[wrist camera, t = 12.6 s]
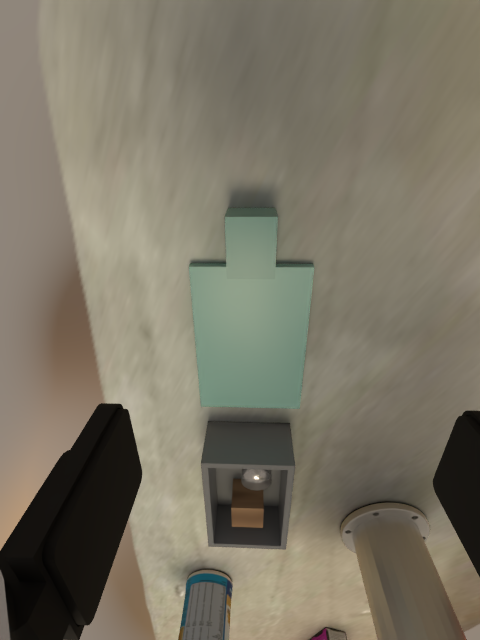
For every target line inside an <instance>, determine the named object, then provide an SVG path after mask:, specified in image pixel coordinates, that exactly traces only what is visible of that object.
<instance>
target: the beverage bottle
mask: <svg viewBox="0 0 480 640" xmlns="http://www.w3.org/2000/svg"><path fill="white" fill-rule="evenodd" d="M231 596H232V581H231V579H230V578H229V577H228V576H227V575H225V574H224V573H222V572H219V571H215V570H200V571H197V572H194V573H192V574H191V575H190V576H189V577H188V579H187V583H186V594H185V601H184V608H183V614H182V620H181V627H180V633H179V639H178V640H229V630H230V609H231Z"/></svg>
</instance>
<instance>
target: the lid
mask: <svg viewBox="0 0 480 640" xmlns="http://www.w3.org/2000/svg"><path fill="white" fill-rule="evenodd" d="M277 224H278V216H277V213H276V209H275V208H228V210H227V213H226V215H225V241H226V263H191V264H190V266H189V274H190V286H191V297H192V309H193V320H194V332H195V343H196V355H197V366H198V377H199V389H200V400H201V406H203V407H247V408H292V409H300V399H301V390H302V380H303V371H304V361H305V352H306V342H307V333H308V323H309V314H310V304H311V295H312V285H313V275H314V266H313V264H276V246H277Z"/></svg>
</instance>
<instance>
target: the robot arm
mask: <svg viewBox="0 0 480 640" xmlns="http://www.w3.org/2000/svg"><path fill="white" fill-rule="evenodd" d="M141 479H142V468H141V464H140V459H139V455H138V451H137V446H136V442H135V437H134V433H133V429H132V424H131V420H130V415H129V412H128V410H127V409H123V406H122V405H121V404H103V403H101V404H99V405H98V406H97V408H96V409H95V411H94V413H93V414H92V416H91V417H90V419H89V421H88V422H87V424H86V425H85V427H84V429H83V430H82V432H81V434H80V435H79V437H78V439H77V440H76V442H75V443H74V445H73V446H72V448H71V450H69V451H66V452H65V453H63V455H62V456H61V457H60V458H59V460H58V462H57V463H56V465H55V467H54V468H53V469H52V471H51V473H50V474H49V476H48V477H47V479H46V480H45V482H44V483H43V485H42V487H41V488H40V490H39V491H38V493H37V494H36V496H35V498H34V499H33V501H32V502H31V504H30V505H29V507H28V508H27V510H26V512H25V513H24V515H23V516H22V518H21V520H20V521H19V522H18V524H17V526H16V527H15V529H14V530H13V532H12V534H11V535H10V537H9V538H8V540H7V541H6V543H5V544H4V546H3V548H2V549H1V551H0V640H79V639H80V636H81V634H82V631H83V628H84V625H89V624H90V623H91V622H92V620H93V618H94V616H95V613H96V611H97V608H98V605H99V602H100V599H101V596H102V593H103V590H104V587H105V584H106V582H107V579H108V576H109V573H110V570H111V567H112V564H113V561H114V559H115V555H116V553H117V550H118V547H119V544H120V541H121V538H122V536H123V533H124V530H125V527H126V524H127V521H128V518H129V515H130V512H131V510H132V507H133V504H134V501H135V498H136V495H137V492H138V489H139V486H140V483H141ZM433 487H434V490H435V493H436V495H437V497H438V499H439V500H440V502H441V504H442V506H443V508H444V510H445V512H446V514H447V516H448V518H449V520H450V521H451V523H452V525H453V527H454V529H455V531H456V533H457V535H458V537H459V539H460V540H461V542H462V544H463V546H464V548H465V550H466V552H467V554H468V556H469V558H470V560H471V561H472V563H473V565H474V567H475V569H476V571H477V573H478V575H479V577H480V411H465V412H464V413H463V415H462V416H459V417H458V418H457V420H456V422H455V425H454V427H453V430H452V432H451V435H450V437H449V440H448V443H447V445H446V448H445V450H444V453H443V455H442V458H441V460H440V463H439V465H438V468H437V470H436V473H435V476H434V478H433ZM340 533H341V538H342V541H343V543H344V545H345V546H346V547H347V548H348V549H349V550H351V551H352V552H354V553H356V555H357V559H358V563H359V567H360V571H361V575H362V579H363V583H364V587H365V591H366V595H367V599H368V603H369V607H370V611H371V615H372V619H373V623H374V626H375V630H376V634H377V638H378V640H467V639H466V637H465V635H464V632H463V630H462V628H461V625H460V623H459V621H458V618H457V616H456V614H455V611H454V609H453V607H452V604H451V602H450V600H449V597H448V595H447V593H446V590H445V588H444V586H443V584H442V581H441V579H440V577H439V574H438V572H437V570H436V567H435V565H434V563H433V560H432V558H431V556H430V553H429V551H428V549H427V546H426V544H425V541H426V540H427V538H428V537H429V535H430V525H429V523H428V521H427V518H426V517H425V515H424V514H423V513H422V512H421V511H419V510H418V509H416V508H414V507H412V506H409V505H405V504H400V503H378V504H373V505H369V506H365V507H362V508H360V509H358V510H356V511H354V512H353V513H351V514H350V515H349V516H348V517H347V518H346V519H345V520H344V521H343V523H342V525H341V528H340Z"/></svg>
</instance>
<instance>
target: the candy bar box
mask: <svg viewBox="0 0 480 640" xmlns="http://www.w3.org/2000/svg"><path fill="white" fill-rule="evenodd" d="M310 640H347V637H346V633H345V632H343V631H339V630H335V629H330V628H325V629H323V630H322V631H321V632H319V633H318V634H317V635H316V636H314V637H313V638H312V639H310Z"/></svg>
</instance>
